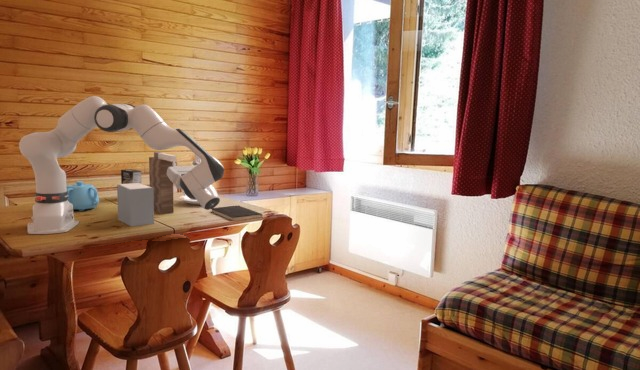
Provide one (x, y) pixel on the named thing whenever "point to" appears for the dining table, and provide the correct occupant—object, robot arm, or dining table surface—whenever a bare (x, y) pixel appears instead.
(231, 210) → the hardcover book
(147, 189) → the paper box
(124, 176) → the coffee box
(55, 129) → the robot arm
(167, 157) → the marker
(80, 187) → the decorative pot
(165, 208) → the walnut stand
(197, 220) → the dining table surface
